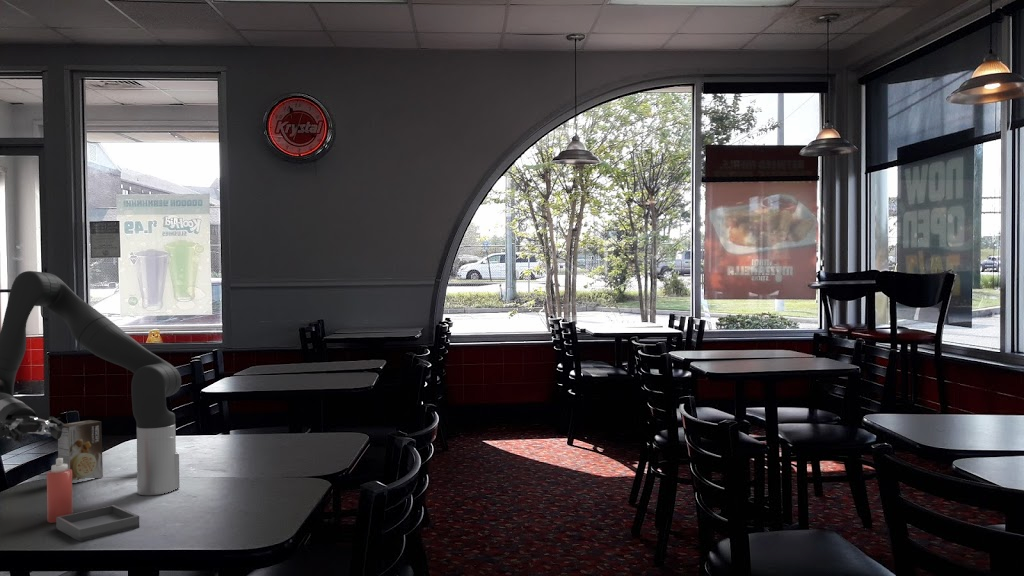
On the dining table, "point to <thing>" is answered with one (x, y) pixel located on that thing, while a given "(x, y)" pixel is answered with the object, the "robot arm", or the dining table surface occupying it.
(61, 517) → the tray
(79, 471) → the coffee box
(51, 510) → the bottle
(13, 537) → the dining table surface
